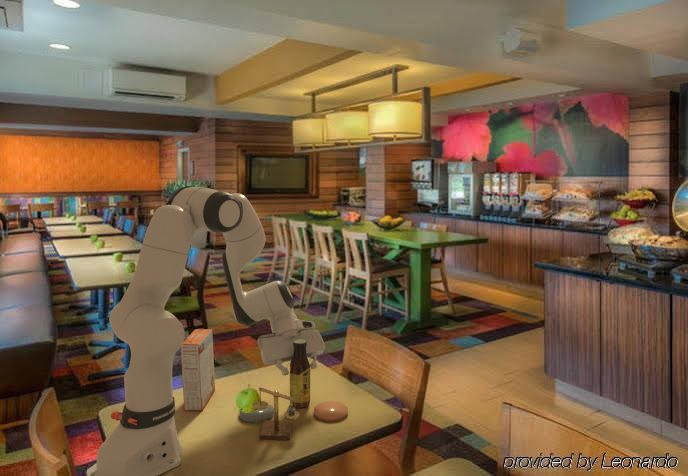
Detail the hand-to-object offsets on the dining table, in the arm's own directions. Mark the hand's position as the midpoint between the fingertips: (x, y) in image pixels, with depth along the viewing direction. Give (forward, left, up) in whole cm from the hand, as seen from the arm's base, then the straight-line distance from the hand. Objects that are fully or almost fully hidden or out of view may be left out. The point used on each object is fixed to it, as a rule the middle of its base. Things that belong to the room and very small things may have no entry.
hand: (300, 371), depth 159 cm
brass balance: (-17, -4, -11) cm, 20 cm away
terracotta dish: (0, -11, -11) cm, 15 cm away
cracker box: (-14, +28, -11) cm, 33 cm away
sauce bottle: (0, 0, -11) cm, 11 cm away
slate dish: (-12, +7, -11) cm, 17 cm away
